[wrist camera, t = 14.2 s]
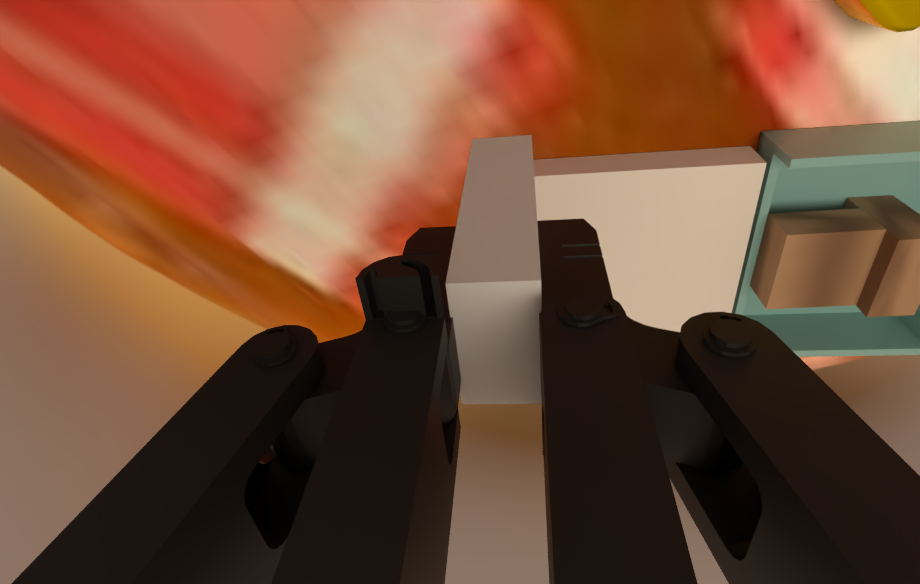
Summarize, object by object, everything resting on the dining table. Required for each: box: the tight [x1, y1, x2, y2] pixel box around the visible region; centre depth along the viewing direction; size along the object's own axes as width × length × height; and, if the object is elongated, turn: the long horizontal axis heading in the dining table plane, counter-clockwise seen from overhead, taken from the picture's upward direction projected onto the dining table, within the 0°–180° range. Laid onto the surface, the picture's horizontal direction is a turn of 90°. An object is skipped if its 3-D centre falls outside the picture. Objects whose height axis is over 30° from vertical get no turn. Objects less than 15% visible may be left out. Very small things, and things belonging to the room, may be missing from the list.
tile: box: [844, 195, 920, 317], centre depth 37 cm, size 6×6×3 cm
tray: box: [732, 121, 920, 357], centre depth 38 cm, size 14×16×5 cm
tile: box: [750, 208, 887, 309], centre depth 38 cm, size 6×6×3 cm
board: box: [533, 146, 767, 332], centre depth 41 cm, size 17×14×3 cm
